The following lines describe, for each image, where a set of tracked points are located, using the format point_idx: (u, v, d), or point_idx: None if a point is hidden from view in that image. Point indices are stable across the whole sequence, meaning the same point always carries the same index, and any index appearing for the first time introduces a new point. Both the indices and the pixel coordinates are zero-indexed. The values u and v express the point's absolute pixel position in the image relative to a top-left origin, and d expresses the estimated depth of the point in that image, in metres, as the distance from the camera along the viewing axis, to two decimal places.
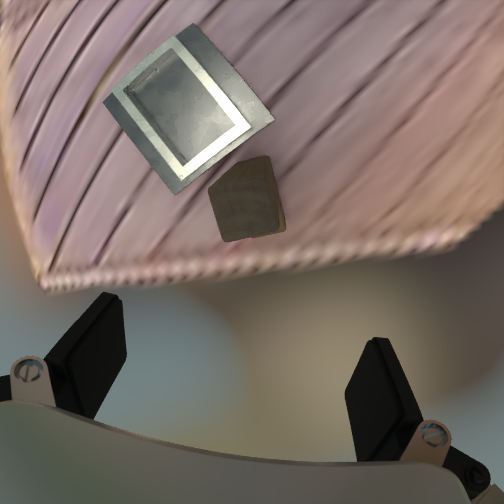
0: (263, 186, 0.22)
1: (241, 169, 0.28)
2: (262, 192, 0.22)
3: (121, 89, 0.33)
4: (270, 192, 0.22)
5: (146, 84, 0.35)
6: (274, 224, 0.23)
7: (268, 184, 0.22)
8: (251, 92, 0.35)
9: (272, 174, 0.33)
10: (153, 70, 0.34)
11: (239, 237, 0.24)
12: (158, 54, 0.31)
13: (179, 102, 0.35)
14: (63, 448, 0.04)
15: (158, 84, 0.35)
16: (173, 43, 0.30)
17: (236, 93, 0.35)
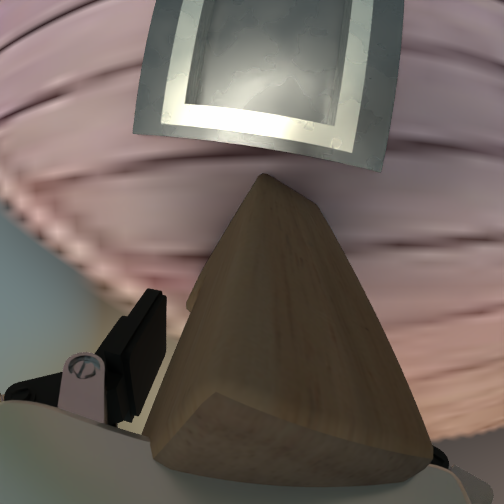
0: None
1: (306, 247, 0.10)
2: None
3: None
4: None
5: None
6: None
7: None
8: (390, 105, 0.17)
9: None
10: None
11: None
12: None
13: (280, 11, 0.15)
14: (63, 448, 0.04)
15: None
16: None
17: (370, 84, 0.16)
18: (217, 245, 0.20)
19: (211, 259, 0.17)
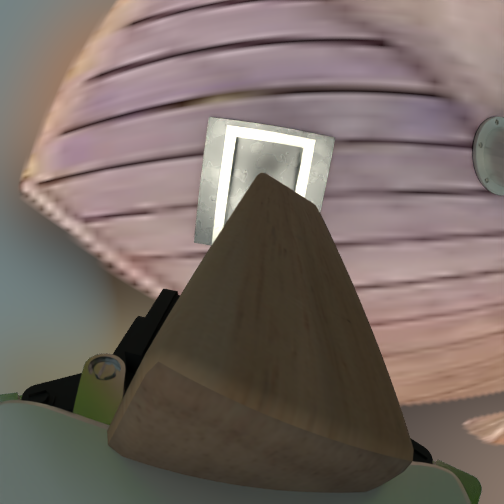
0: (369, 488, 0.04)
1: (293, 240, 0.10)
2: None
3: (235, 135, 0.35)
4: None
5: (254, 145, 0.38)
6: None
7: None
8: None
9: None
10: (271, 141, 0.37)
11: None
12: (289, 142, 0.35)
13: None
14: (63, 448, 0.04)
15: (263, 155, 0.38)
16: (308, 147, 0.35)
17: None
18: None
19: None
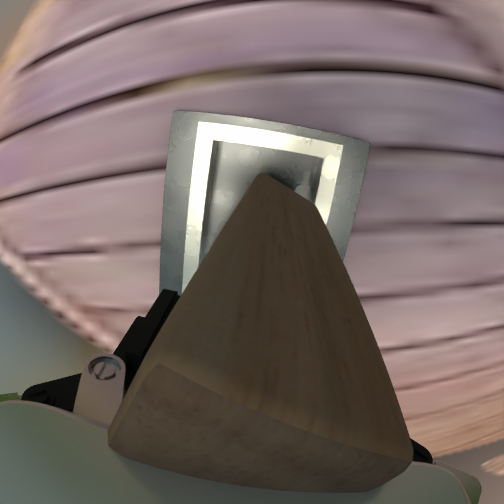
0: (369, 488, 0.04)
1: (293, 240, 0.10)
2: None
3: (212, 137, 0.21)
4: None
5: (245, 153, 0.24)
6: None
7: None
8: None
9: None
10: None
11: None
12: (302, 148, 0.21)
13: None
14: (63, 448, 0.04)
15: (258, 169, 0.24)
16: (331, 156, 0.21)
17: None
18: None
19: None
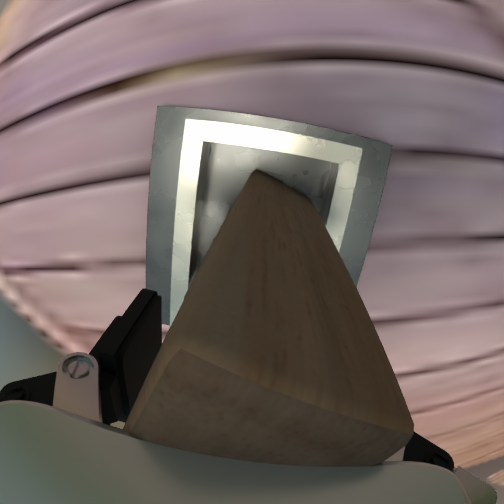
0: (374, 462, 0.04)
1: (291, 234, 0.10)
2: None
3: (202, 137, 0.17)
4: None
5: (243, 156, 0.20)
6: None
7: None
8: None
9: None
10: None
11: None
12: (312, 151, 0.17)
13: None
14: (63, 448, 0.04)
15: None
16: (348, 162, 0.17)
17: None
18: None
19: None
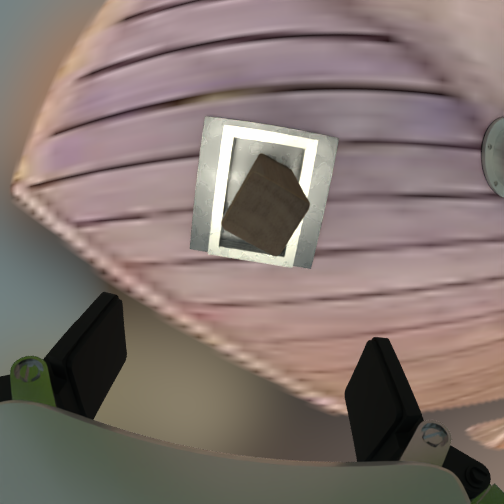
0: (300, 213, 0.20)
1: (277, 171, 0.26)
2: (294, 217, 0.20)
3: (233, 135, 0.33)
4: (299, 222, 0.20)
5: (253, 146, 0.36)
6: (277, 251, 0.21)
7: (304, 214, 0.20)
8: (316, 236, 0.39)
9: None
10: None
11: (238, 235, 0.21)
12: (291, 142, 0.33)
13: None
14: (63, 448, 0.04)
15: None
16: (310, 148, 0.33)
17: (306, 227, 0.39)
18: None
19: None
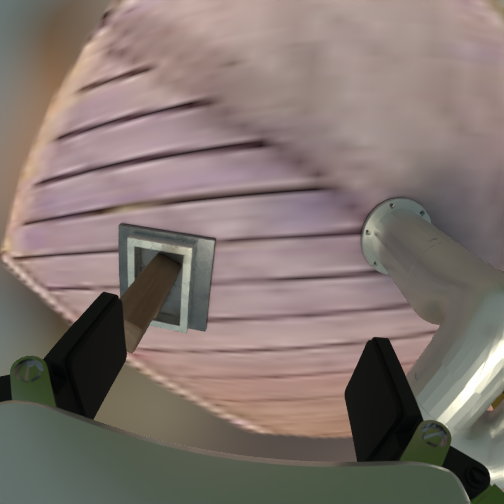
0: (136, 334, 0.33)
1: (144, 290, 0.39)
2: (134, 336, 0.33)
3: (134, 245, 0.46)
4: (138, 338, 0.33)
5: None
6: (130, 351, 0.34)
7: (140, 334, 0.33)
8: (206, 310, 0.52)
9: (167, 291, 0.44)
10: None
11: None
12: (173, 250, 0.46)
13: None
14: (63, 448, 0.04)
15: None
16: (187, 254, 0.46)
17: (197, 303, 0.52)
18: None
19: None
